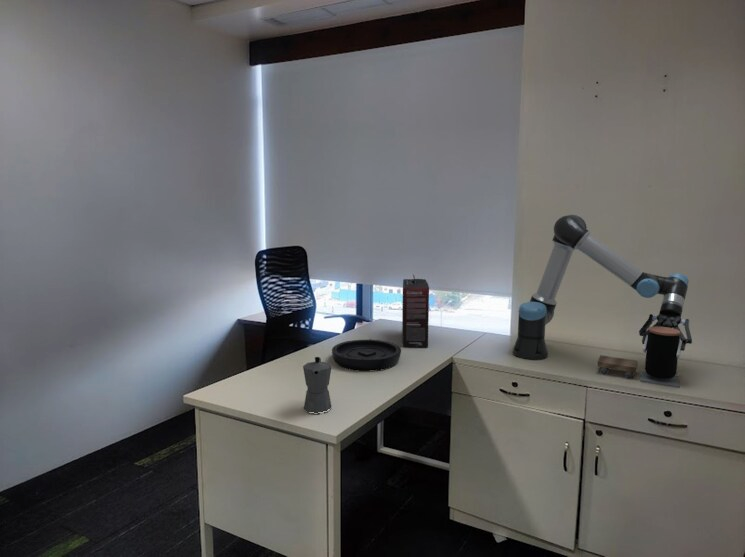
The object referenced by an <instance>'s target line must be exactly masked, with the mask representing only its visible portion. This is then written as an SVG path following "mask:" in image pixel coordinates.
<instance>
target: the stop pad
mask: <svg viewBox="0 0 745 557" xmlns="http://www.w3.org/2000/svg"><path fill="white" fill-rule="evenodd" d="M639 377H640V379H639V380H640V382H641V381H642V383H647V382H648V384H653V383H654V384H655V385H659V384H660V386H666V387H674V388H678V389H680V379H679V376H677V375H675V376H674V377H673V378H669V379H664V378H657V377H653V376H650V375H648V374H647V373H646V371H645V370H644V371H643V370H641V371H640V376H639Z"/></svg>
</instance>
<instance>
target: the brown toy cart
mask: <svg viewBox="0 0 745 557" xmlns="http://www.w3.org/2000/svg"><path fill="white" fill-rule="evenodd" d="M597 368H599V373H600V374H601V375H603V376H606V375H607V374H608V373H609V369H610V370H611V369H612V370H616V371H617V370H618V371H624V377H625V378H626V379H628V380H631V379H633V378H634V373H637V372H638V359H637V360H635V359H628V358H621V357H615V356H607V355H602V354H601V355H599V357H598V360H597Z"/></svg>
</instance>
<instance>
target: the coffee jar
mask: <svg viewBox="0 0 745 557" xmlns="http://www.w3.org/2000/svg"><path fill="white" fill-rule="evenodd" d="M648 329H649V332H650V333H649V334H648V340H647V350H646V353H645V363H644V371H645V372H646V373H647V374H648V375H650V376H653V377H657V378H664V379H669V378H673V377H674V376H677V368H678V360H679V359H678V358H677V350H678V346H679V342H680V338H679V335H680V331H679V330H677V329H674V328H668V327H658V326H655V327H652V326H650V327H649V328H648Z"/></svg>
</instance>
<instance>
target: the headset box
mask: <svg viewBox="0 0 745 557" xmlns="http://www.w3.org/2000/svg"><path fill="white" fill-rule="evenodd" d="M412 276H413V278H410V279H408V278H407V279H406V278H403V282H402V309H401V310H402V314H401V315H402V320H401V321H402V322H401V323H402V329H401V330H402V332H401V333H402V346H403V348H428V347H429V322H430V321H429V320H430V319H429V318H430V317H429V314H430V313H429V312H430V311H429V310H430V308H429V307H430V286H429V283H428V281H427V279H425V278H424V279H423V278H416V277H415V275H414V274H413V275H412Z"/></svg>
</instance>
